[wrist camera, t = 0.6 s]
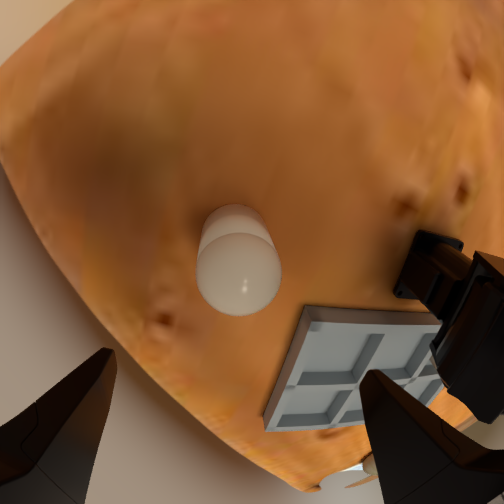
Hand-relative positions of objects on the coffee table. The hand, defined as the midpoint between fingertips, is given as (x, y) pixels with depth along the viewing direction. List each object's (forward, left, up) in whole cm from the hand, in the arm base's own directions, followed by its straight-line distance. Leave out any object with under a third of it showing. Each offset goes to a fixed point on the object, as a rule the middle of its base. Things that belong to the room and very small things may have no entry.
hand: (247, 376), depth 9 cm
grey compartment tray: (-19, +13, -13) cm, 26 cm away
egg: (0, 0, -13) cm, 13 cm away
